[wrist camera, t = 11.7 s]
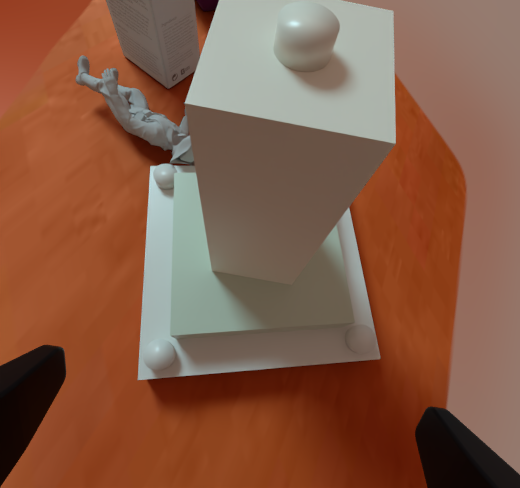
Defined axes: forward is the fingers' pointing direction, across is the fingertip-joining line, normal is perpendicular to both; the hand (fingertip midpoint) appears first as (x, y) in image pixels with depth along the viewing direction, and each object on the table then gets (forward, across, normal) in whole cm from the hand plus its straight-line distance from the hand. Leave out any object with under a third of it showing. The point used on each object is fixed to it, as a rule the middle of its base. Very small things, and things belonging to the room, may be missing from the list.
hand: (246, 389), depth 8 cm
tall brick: (+12, 0, +1) cm, 12 cm away
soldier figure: (+21, +10, -3) cm, 24 cm away
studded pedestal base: (+14, 0, +4) cm, 15 cm away
